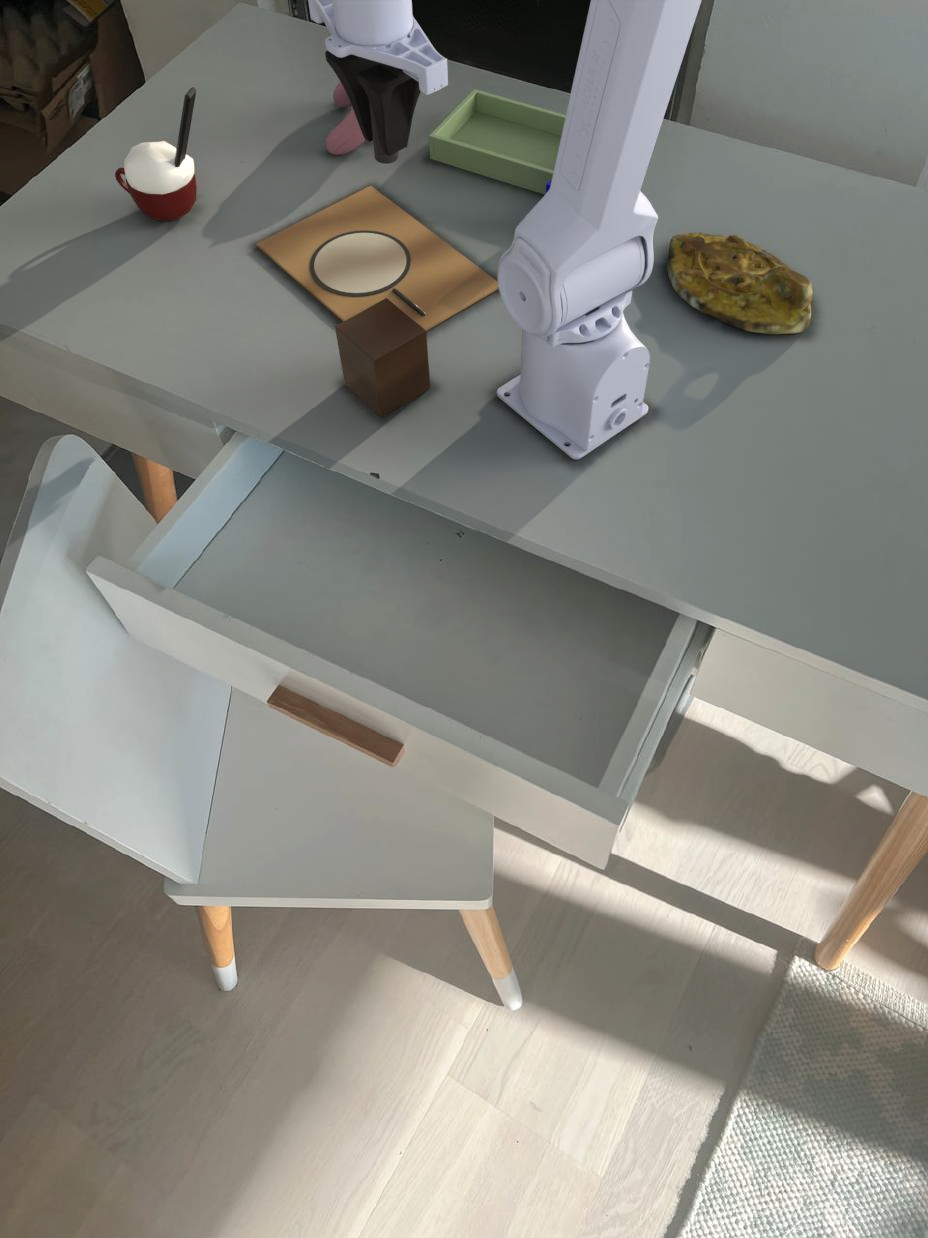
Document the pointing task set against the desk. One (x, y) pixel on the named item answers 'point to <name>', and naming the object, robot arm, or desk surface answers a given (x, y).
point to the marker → (378, 151)
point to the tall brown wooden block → (384, 356)
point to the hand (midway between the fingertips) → (385, 142)
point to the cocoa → (162, 173)
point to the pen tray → (500, 140)
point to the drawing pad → (377, 261)
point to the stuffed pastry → (739, 283)
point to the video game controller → (344, 127)
